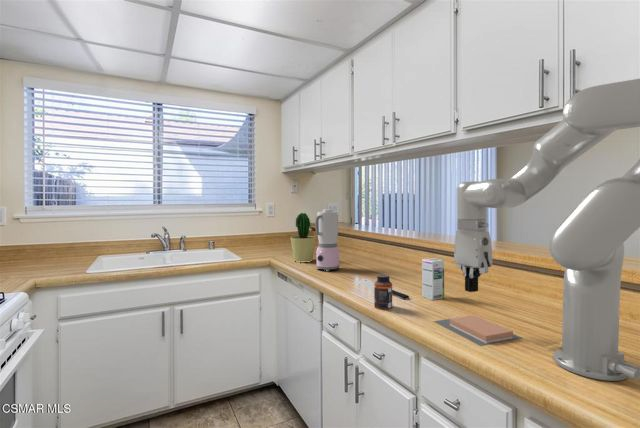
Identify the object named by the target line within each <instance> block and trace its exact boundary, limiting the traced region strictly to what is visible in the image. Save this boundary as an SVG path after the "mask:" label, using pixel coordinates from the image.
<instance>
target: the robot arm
mask: <svg viewBox="0 0 640 428" xmlns="http://www.w3.org/2000/svg"><path fill="white" fill-rule="evenodd" d="M562 118H563V119H562V120H560V121H559V122H558V123H557V124H556V125H555V126H553V127H552V128H551V129H550V130H549V131H547V132H546V133H545V134H543V135H542V136H540V138H538V139H537V140H536V141H535V142H534V144H533V148H532V155H531V158H530V159H529V161H528V163H526V165H525V166H523V167H522V168H521V169H520V170H519V171H518V172H516V173H515V174H514V175H512V176H511V178H508V179H506V178H491V179H486V180H481V181H479V180H478V181H462V182H460V183H459V184H458V185H457V187H456V188H457V190H456V191H457V193H456V199H457V200H456V202H457V203H456V205H457V206H456V210H457V211H456V212H457V213H456V214H457V215H456V220H457V221H456V222H457V223H456V226H457V227H456V228H457V229H456V231H455V236H454V247H453V258H454V259H453V260H454V262H455V264H456V267H457V268H458V269H460V270H461V271H462V275H463V277H464V291H465V292H468V293H473V292H478V291H479V278H481V275H482V274H487V273H489V268H491V267H492V266H493V245H492V240H491V234H490V232H489V231H487V228H488V227H489V223H488V222H487V220H488V217H487V216H488V213H487V211H488V208H489V209H503V208H504V209H505V208H508V209H509V208H515V207H518V206H521V205H522V204H524V203H525V202H527V201H528V200H530V199H531V198H533V197H534V196H536V195H537V194H538V193H540V192H541V191H542V190H544V189H545V188H546V187H548V186H549V184H551V182H552V181H554V180H555V178H556V177H557V176H558V175H559V174H560V173H561V172H562V171H563V170H564V169H565V168H566V167H567V166H569V165H570V164H571V163H573V162H574V161H575V160H577V159H578V158H580V157H581V156H582V155H584V154H586V152H588V151H589V150H590V149H592V148H593V147H595V146H596V145H598V144H599V143H600V142H602V141H603V140H604V139H606V138H607V137H608V136H610V135H612V134H613V133H614V132H615V131H616V130H618V129H624V128H625V129H627V128H637V127H638V128H639V127H640V77H639V78H634V79H628V80H622V81H616V82H611V83H605V84H598V85H593V86H590V87H589V86H588V87H587V88H584V89H582V90H579V91H577V92H576V93H574V94H573V95H572V96H570V97H569V98H568V100H567V101H566V103H565V104H564V106H563V110H562ZM639 229H640V158H639V159H638V160H637V162H636V163H634V165H633V166H632V167H631V168H630V169H629V170H627V172H625V174H624V175H623V176H621V177H616V178H611V179H607V180H605V181H603V182H602V183H600V184H598V185H597V186H596V187H594V188H593V189H592V190H590V192H589V193H588V194H587V195H586V196H585V197H584V198H583V199H582V200H581V201H580V203H579V204H578V205H577V206H576V207H575V208H574V209H573V210H572V211H571V212H570V213H569V215H568V216H567V217H566V218H565V220H563V221H562V223H561V224H560V225H559V226H558V227H557V228H556V229H555V230H554V231H553V234H552V235H551V238H550V240H549V252H550V255H551V257H552V258H553V260H554V261H555V262H556V263H557V264H558V265H560V266H561V267H563V268H564V273H563V290H562V291H563V292H562V324H561V326H562V330H561V332H562V333H561V334H562V335H561V337H562V338H561V348H560V349H556V350H555V351H554V352H553V356H552V357H553V360H554V362H555V363H556V364H557V365H559V367H561V368H563V369H565V370H567V371H569V372H571V373H574V374H577V375H579V376H582V377H586V378H590V379H595V380H599V381H610V382H617V381H618V382H619V381H622V380H623V381H624V380H625V379H627V378H630V379H632V380H634V381H638V380H640V366H638V365H635V364H633V363H629V362H627V361H626V359H625V353H624V352H621V351H619V341H620V339H619V337H620V334H619V333H620V306H621V304H620V301H621V282H622V272H623V265H624V258H625V244H624V243H625V242H626V241H627V240H629V238H630V237H631V236H632V235H633V234H635V232H636V231H638V230H639Z"/></svg>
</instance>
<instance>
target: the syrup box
mask: <svg viewBox="0 0 640 428" xmlns="http://www.w3.org/2000/svg"><path fill="white" fill-rule="evenodd" d="M421 277H422V278H421V284H422V285H421V288H422V289H421V292H422V293H421V295H422V297H423V298H424V299H428V300H430V301H437V300H442V299H445V260H444V259H442V258H441V259H440V258H434V257H433V258H423V259H421Z"/></svg>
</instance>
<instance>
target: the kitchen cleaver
mask: <svg viewBox="0 0 640 428" xmlns="http://www.w3.org/2000/svg"><path fill="white" fill-rule="evenodd" d="M353 282H354V283H358V284H360V285H363V286H365V287H367V288H369V289H372V290H374V284H375V282H373V281H371V280H370V279H368V278H366V279H361V280H357V281H353ZM392 297H396V298H398V297H399V299H401V300H402V299H403V300H404V301H406V299H407V300H410V295H408V294H405V293H402V292H399V291H397V290H395V289H394V290H393V289H392Z"/></svg>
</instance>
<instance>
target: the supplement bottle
mask: <svg viewBox="0 0 640 428" xmlns="http://www.w3.org/2000/svg"><path fill="white" fill-rule="evenodd" d="M376 279H377V280H376V281H374V283H375V284H374V292H373V293H374V296H373V297H374V300H373V301H374V304H373V305H374V309H376V310H380V311H381V310H383V311H389V310H391V309H392V308H393V295H392V290H393V283H392V282H391V280H390V275H388V274H384V273H383V274H377V276H376Z"/></svg>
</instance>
